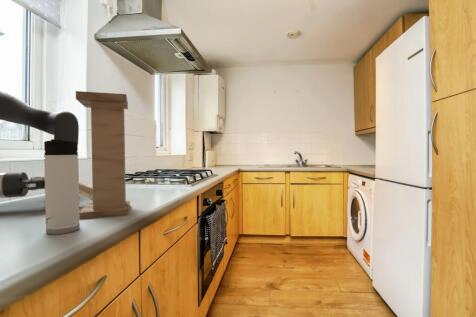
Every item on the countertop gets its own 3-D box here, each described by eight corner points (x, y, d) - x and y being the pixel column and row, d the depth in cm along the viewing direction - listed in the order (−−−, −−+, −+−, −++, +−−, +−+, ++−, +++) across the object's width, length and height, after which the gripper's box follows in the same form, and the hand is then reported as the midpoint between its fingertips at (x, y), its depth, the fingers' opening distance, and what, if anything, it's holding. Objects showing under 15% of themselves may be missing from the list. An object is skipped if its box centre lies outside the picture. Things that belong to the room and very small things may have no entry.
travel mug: (40, 236, 56) (37, 139, 56) (52, 227, 63) (50, 140, 62) (74, 233, 58) (72, 139, 57) (83, 225, 64) (81, 140, 64)
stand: (87, 208, 84) (85, 100, 83) (129, 205, 88) (127, 102, 87) (78, 218, 71) (75, 91, 70) (128, 214, 75) (126, 94, 74)
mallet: (52, 181, 89) (60, 164, 89) (110, 202, 95) (118, 186, 96) (45, 183, 82) (54, 165, 83) (108, 206, 88) (117, 188, 89)
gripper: (-7, 174, 75) (66, 170, 81) (15, 171, 88) (76, 168, 94) (-5, 201, 75) (67, 196, 81) (16, 194, 88) (77, 190, 94)
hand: (71, 181), depth 88 cm, fingers closed on mallet, 3 cm apart
